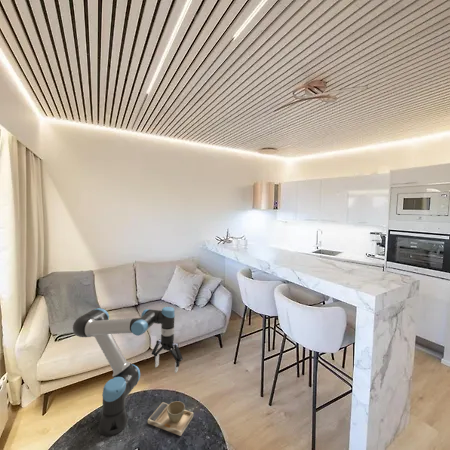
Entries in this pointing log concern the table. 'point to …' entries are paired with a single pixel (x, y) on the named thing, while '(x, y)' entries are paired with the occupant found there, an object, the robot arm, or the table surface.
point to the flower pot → (175, 411)
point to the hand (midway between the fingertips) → (166, 369)
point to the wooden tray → (164, 422)
